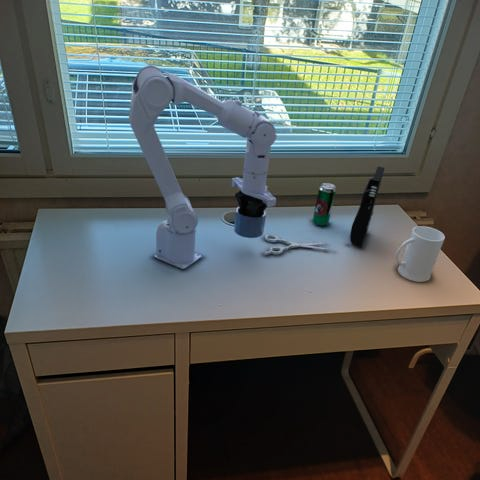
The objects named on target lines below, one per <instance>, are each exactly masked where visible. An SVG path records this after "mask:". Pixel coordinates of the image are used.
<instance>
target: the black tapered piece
mask: <svg viewBox="0 0 480 480" xmlns="http://www.w3.org/2000/svg"><path fill="white" fill-rule="evenodd" d="M384 172H385V167H383V166H377V167H376V171H375V173H374V175H373V177H372V178H369V179H368V181H367V184H366V186H365V189H364V191H363V194H362V198H361V201H360V205H359V207H358V211H357V213H356V214H355V217H354V220H353V221H352V223H351V228H350V236H349V237H350V239H349V240H350V243H351V245H352V246H354V247H357V248H362V247H363V244H364V241H365V238H366V236H367V233H368V232H369V227H370V224H371V222H372V218H373V215H374V208H375V206H376V205H375V204H376V202H377V201H376V200H377V197H378V193H379V190H380V186H381V182H382V179H383V176H384Z"/></svg>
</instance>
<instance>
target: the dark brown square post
mask: <svg viewBox="0 0 480 480" xmlns="http://www.w3.org/2000/svg"><path fill="white" fill-rule="evenodd" d="M246 216H247V217H250V208H249V205H247V208H246Z"/></svg>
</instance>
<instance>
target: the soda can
mask: <svg viewBox="0 0 480 480" xmlns="http://www.w3.org/2000/svg"><path fill="white" fill-rule="evenodd" d="M336 188H337V187H336V185H334V184H332V183H328V182H323V183H321V184H320V186H319V187H318V193H317V197H316V202H315V207H314V211H313V217H312V222H313V224H314V225H316V226H319V227H326V226H328V225H329V223H330V220H331V215H332V211H333V206H334V203H335V199H336V194H337V190H336Z"/></svg>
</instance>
